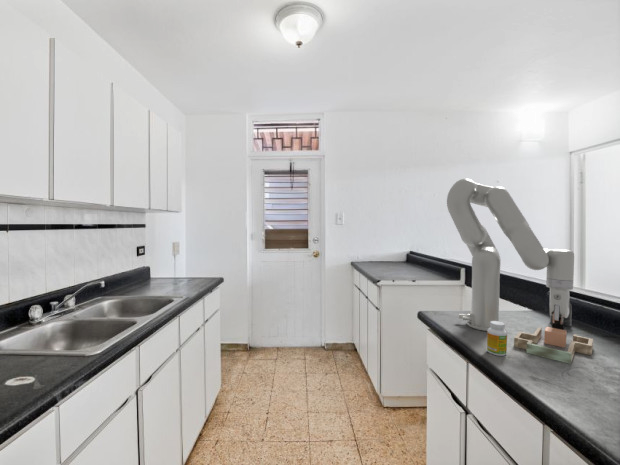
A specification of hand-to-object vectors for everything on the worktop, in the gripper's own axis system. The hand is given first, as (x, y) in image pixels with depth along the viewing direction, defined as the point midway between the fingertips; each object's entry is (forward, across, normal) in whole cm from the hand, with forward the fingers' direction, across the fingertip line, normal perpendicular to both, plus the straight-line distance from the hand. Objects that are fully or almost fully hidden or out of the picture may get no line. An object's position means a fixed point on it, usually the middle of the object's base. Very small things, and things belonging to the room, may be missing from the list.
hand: (557, 333), depth 112 cm
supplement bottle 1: (+2, -29, +13) cm, 32 cm away
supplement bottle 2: (+2, +19, +1) cm, 19 cm away
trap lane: (+1, -12, 0) cm, 12 cm away
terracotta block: (+2, -6, 0) cm, 7 cm away
